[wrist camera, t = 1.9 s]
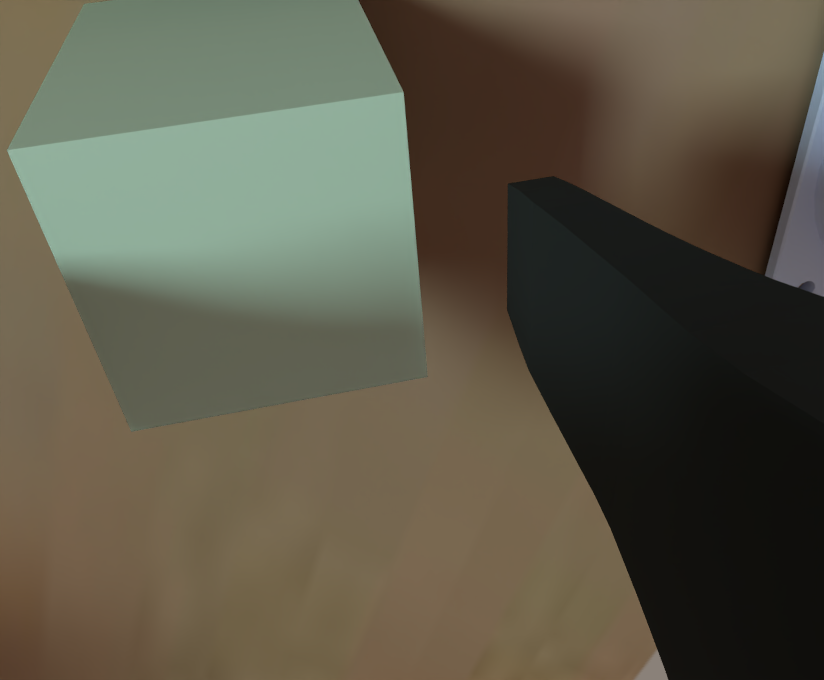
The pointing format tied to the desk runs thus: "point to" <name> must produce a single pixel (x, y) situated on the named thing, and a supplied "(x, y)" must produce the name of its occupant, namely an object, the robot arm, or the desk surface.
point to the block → (229, 202)
